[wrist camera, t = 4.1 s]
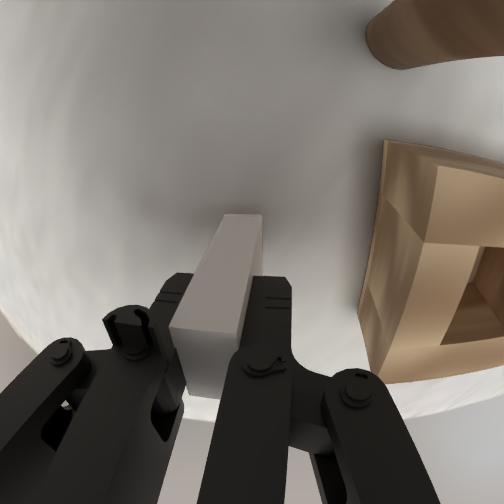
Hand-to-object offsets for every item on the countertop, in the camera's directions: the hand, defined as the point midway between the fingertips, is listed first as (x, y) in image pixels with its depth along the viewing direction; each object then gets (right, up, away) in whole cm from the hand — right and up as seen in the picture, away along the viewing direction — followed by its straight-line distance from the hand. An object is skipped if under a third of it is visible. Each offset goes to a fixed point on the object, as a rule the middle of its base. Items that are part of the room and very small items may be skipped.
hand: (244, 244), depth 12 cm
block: (+10, 0, 0) cm, 10 cm away
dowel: (+6, +8, -4) cm, 11 cm away
